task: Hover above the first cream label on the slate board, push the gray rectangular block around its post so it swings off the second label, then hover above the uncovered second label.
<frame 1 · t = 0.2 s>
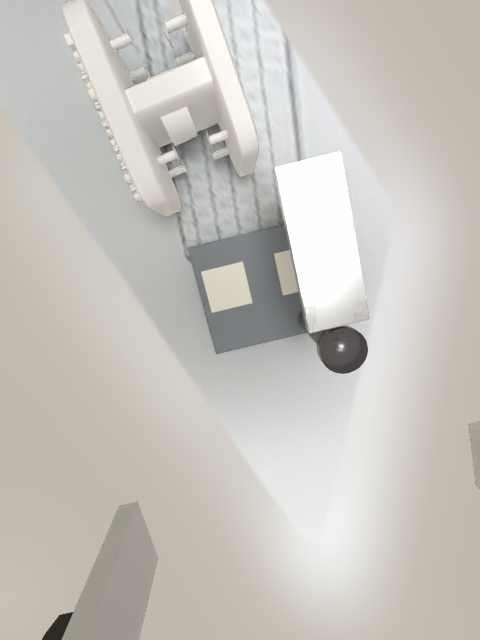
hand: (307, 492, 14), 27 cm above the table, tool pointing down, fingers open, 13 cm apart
label board: (264, 286, 39), on the table
gray rectangular block: (327, 272, 26), point 13 cm above the table, hinge at 0.0°
cable organizer: (183, 131, 36), on the table
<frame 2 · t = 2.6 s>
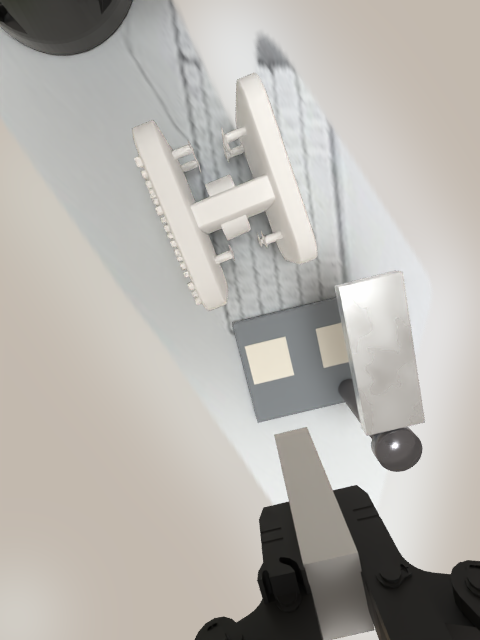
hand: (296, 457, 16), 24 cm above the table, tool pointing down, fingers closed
label board: (304, 357, 40), on the table
gray rectangular block: (384, 378, 27), point 13 cm above the table, hinge at 0.0°
cable organizer: (228, 213, 37), on the table
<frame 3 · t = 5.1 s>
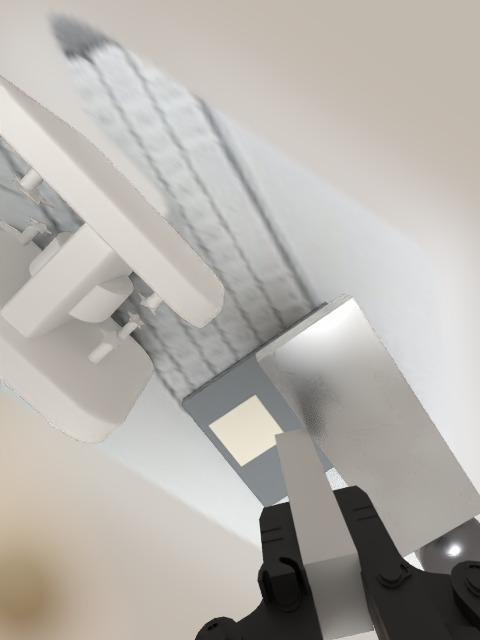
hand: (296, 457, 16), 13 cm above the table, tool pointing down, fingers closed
label board: (293, 407, 30), on the table
gray rectangular block: (394, 462, 16), point 13 cm above the table, hinge at 0.0°, touching gripper
cable organizer: (118, 267, 27), on the table
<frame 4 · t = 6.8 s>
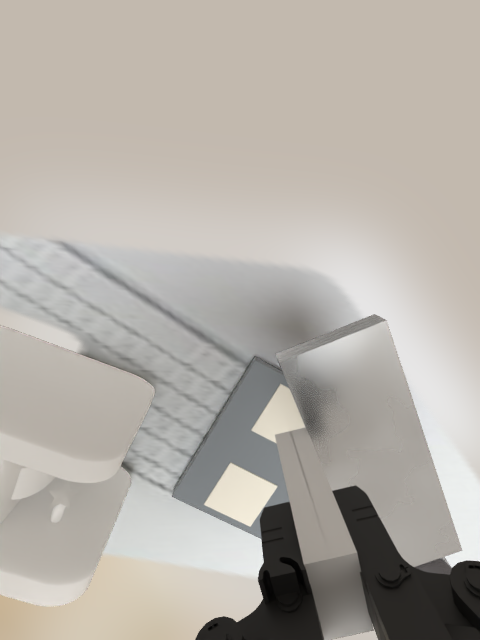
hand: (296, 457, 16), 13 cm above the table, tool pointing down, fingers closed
label board: (273, 456, 30), on the table
gray rectangular block: (384, 488, 16), point 13 cm above the table, hinge at -37.6°, touching gripper
cable organizer: (65, 404, 29), on the table
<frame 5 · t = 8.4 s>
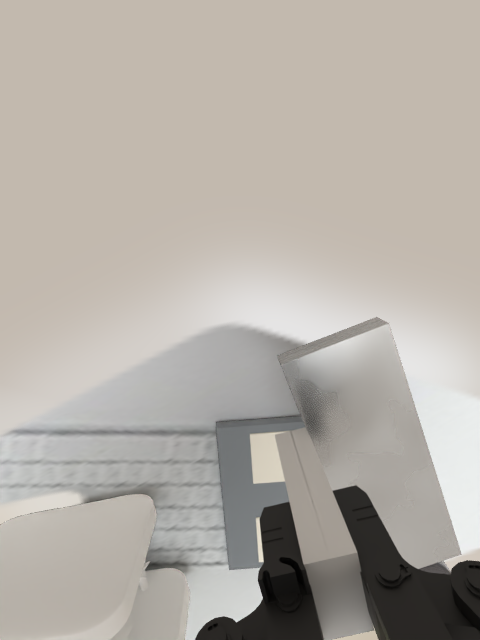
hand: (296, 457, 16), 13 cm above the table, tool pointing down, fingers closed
label board: (291, 489, 31), on the table
gray rectangular block: (384, 491, 16), point 13 cm above the table, hinge at -72.2°, touching gripper
cable organizer: (102, 544, 32), on the table
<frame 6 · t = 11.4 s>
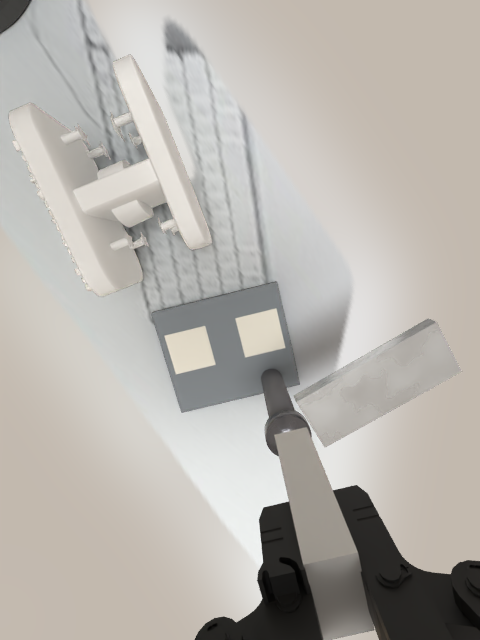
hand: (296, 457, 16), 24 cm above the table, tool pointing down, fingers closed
label board: (227, 347, 40), on the table
gray rectangular block: (354, 396, 28), point 13 cm above the table, hinge at -72.2°
cable organizer: (144, 201, 37), on the table
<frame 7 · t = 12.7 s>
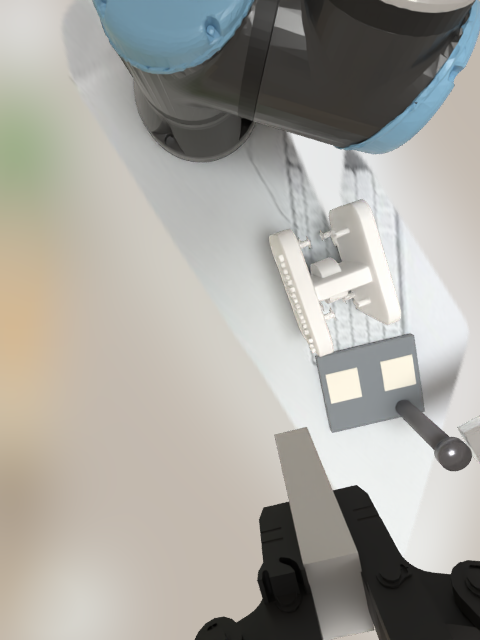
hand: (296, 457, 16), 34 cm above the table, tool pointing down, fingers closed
label board: (369, 382, 52), on the table
cable organizer: (316, 274, 49), on the table
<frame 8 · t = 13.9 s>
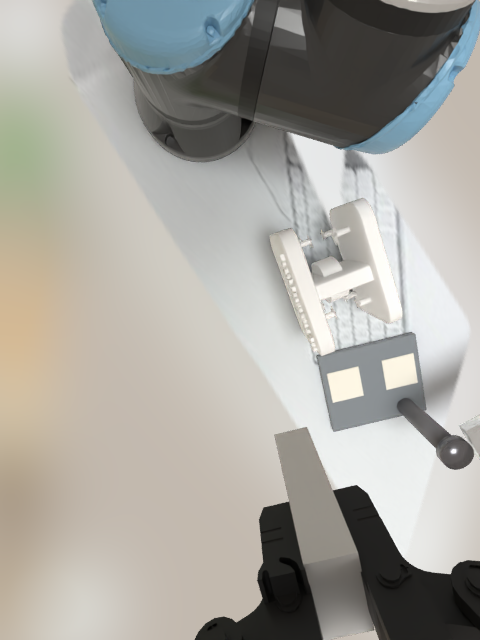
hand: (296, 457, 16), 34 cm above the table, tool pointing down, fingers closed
label board: (370, 381, 52), on the table
cable organizer: (317, 273, 49), on the table
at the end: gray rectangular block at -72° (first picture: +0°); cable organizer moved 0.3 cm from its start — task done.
